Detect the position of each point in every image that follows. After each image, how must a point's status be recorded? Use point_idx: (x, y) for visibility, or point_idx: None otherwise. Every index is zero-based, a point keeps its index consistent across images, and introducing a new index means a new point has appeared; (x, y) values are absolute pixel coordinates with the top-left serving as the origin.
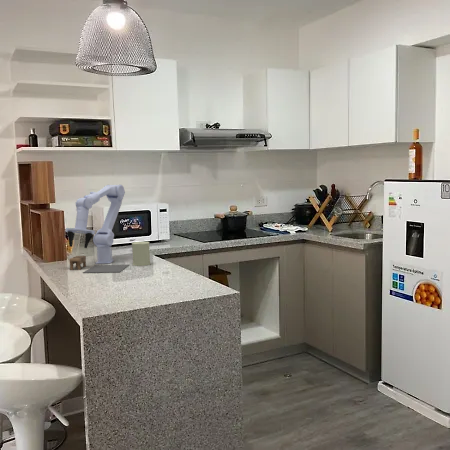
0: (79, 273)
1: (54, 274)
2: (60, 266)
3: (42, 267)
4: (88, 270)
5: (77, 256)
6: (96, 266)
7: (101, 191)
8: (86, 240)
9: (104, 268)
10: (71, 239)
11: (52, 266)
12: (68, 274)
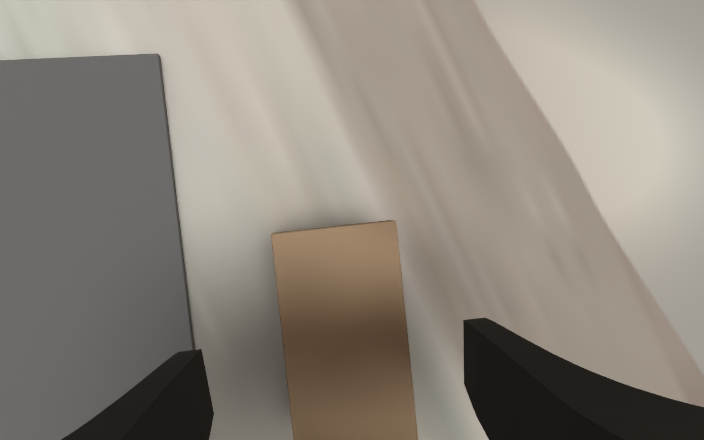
0: (194, 49)
1: (418, 12)
2: None
3: (675, 343)
4: (144, 157)
5: (386, 427)
6: None
7: None
8: (94, 435)
9: (2, 273)
10: (533, 421)
11: None
12: (284, 3)
